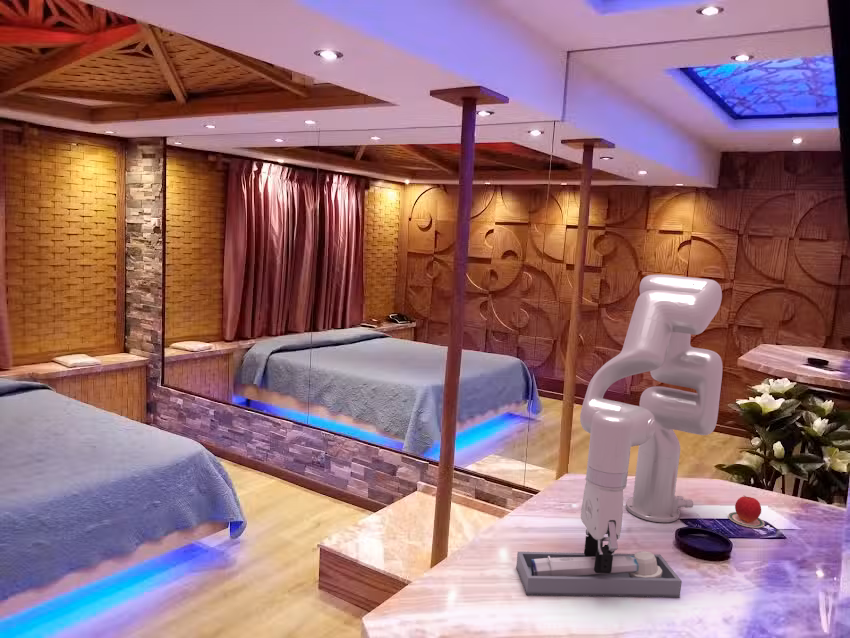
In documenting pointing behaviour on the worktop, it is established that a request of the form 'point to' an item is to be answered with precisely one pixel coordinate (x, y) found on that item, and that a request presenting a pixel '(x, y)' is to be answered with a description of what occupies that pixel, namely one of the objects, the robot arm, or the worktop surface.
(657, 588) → the tray
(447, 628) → the worktop surface
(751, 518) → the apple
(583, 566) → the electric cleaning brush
